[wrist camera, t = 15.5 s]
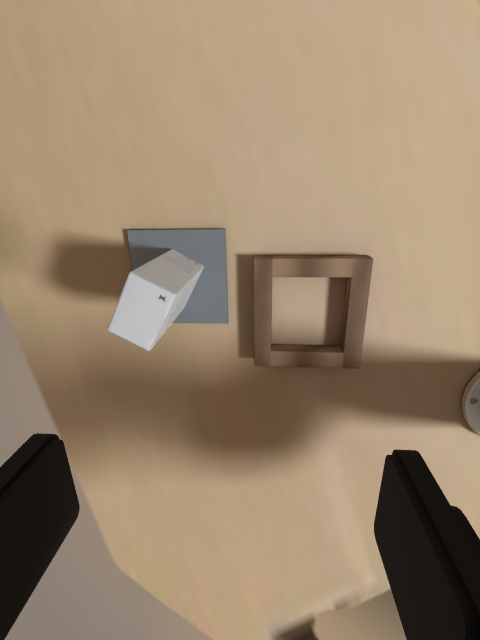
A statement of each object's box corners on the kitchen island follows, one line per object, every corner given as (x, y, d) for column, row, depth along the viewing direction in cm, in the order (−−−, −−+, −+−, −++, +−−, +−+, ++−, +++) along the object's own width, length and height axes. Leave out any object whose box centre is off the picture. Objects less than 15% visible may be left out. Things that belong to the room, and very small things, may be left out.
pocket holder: (367, 255, 36) (373, 258, 34) (355, 360, 41) (359, 368, 39) (254, 255, 37) (253, 258, 35) (254, 358, 42) (254, 365, 40)
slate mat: (225, 228, 37) (224, 229, 36) (228, 321, 40) (227, 323, 40) (130, 229, 37) (127, 230, 37) (141, 320, 41) (139, 322, 41)
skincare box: (171, 247, 37) (129, 268, 26) (205, 265, 37) (178, 294, 26) (151, 293, 39) (104, 331, 28) (184, 309, 39) (150, 353, 28)
